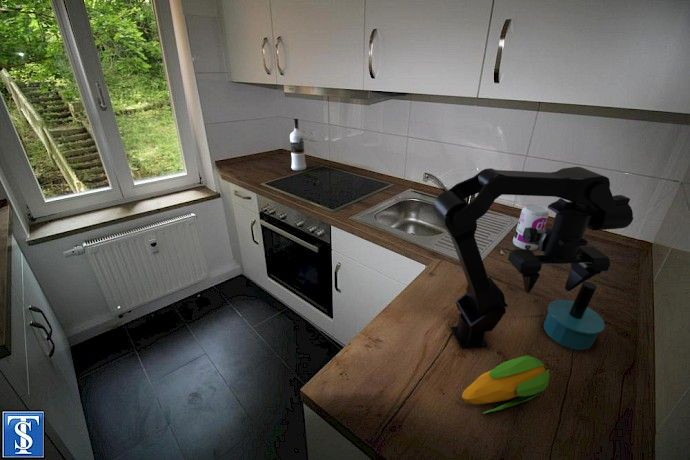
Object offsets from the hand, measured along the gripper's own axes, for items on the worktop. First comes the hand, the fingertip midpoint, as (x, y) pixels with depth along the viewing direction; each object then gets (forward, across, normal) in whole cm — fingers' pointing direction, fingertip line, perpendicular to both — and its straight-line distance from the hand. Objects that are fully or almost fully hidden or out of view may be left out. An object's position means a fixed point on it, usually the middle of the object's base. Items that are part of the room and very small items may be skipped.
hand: (546, 290), depth 71 cm
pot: (+14, -9, 0) cm, 16 cm away
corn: (+13, +15, +16) cm, 26 cm away
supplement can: (+14, -20, -42) cm, 49 cm away
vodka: (+11, +72, -137) cm, 155 cm away
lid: (+8, -9, 0) cm, 12 cm away
